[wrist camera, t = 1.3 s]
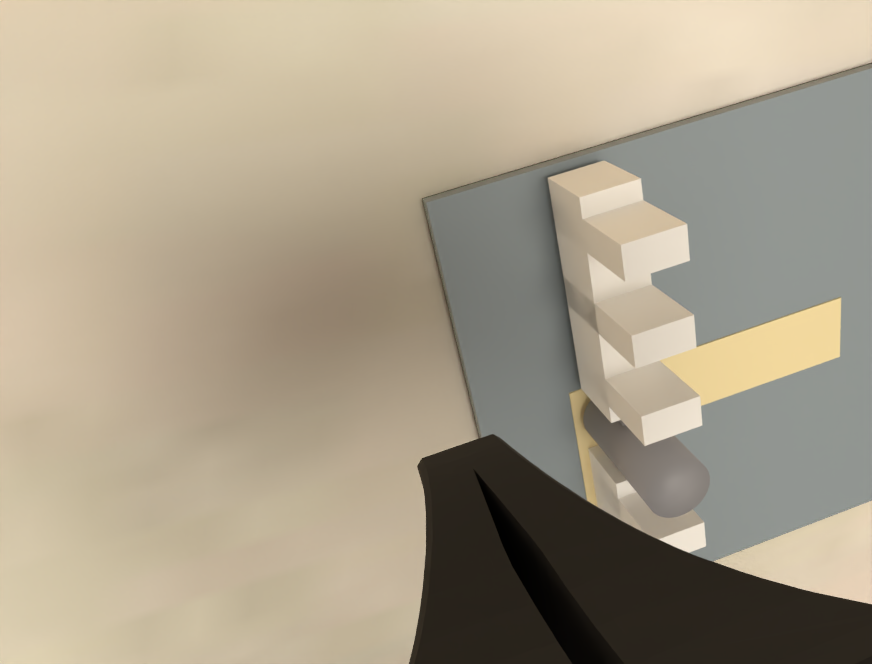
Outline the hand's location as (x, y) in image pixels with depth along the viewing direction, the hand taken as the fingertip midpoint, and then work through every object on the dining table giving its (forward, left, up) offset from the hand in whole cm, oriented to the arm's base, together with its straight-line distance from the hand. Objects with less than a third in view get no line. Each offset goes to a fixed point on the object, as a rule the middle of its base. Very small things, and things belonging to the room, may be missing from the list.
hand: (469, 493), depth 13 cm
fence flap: (-3, -6, -9) cm, 11 cm away
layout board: (-6, -10, -9) cm, 15 cm away
